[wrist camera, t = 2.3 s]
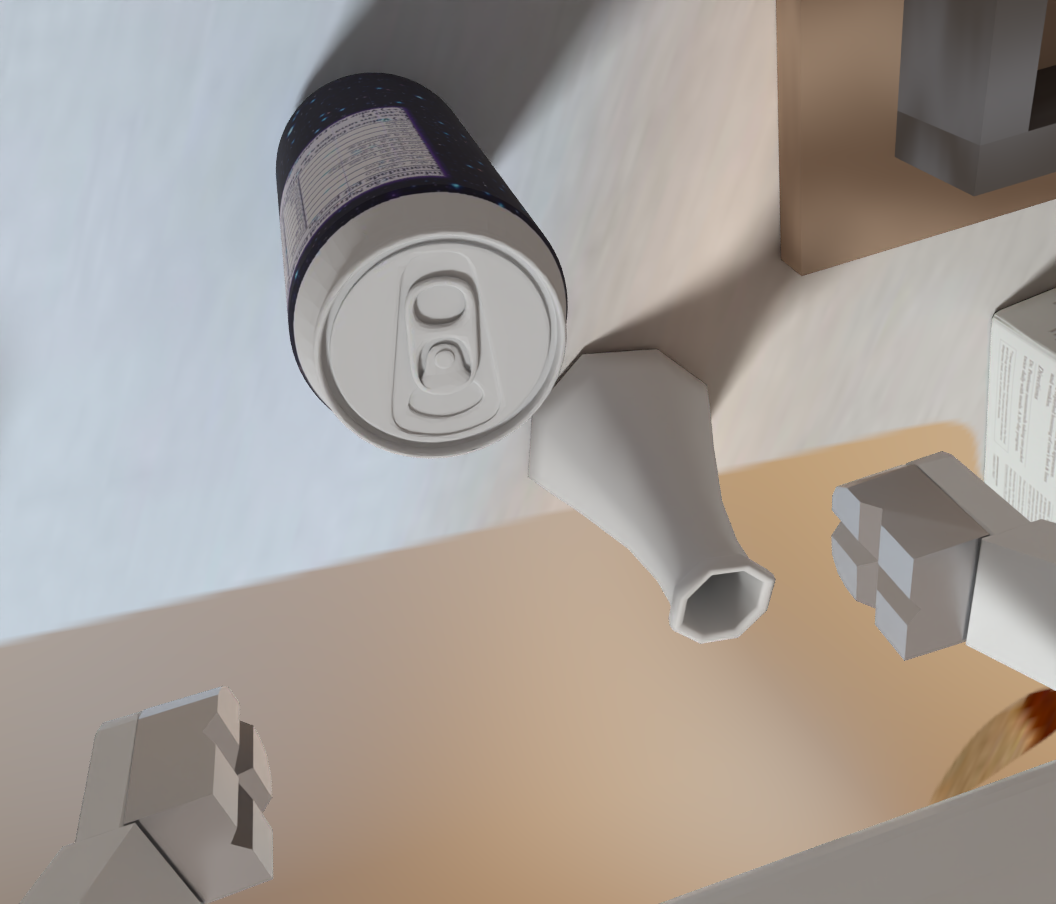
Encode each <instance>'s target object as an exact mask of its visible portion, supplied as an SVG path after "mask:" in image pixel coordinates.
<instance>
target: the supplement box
mask: <svg viewBox="0 0 1056 904" xmlns="http://www.w3.org/2000/svg"><path fill="white" fill-rule="evenodd" d="M984 483H986V484H987V485H988V486H989V487H990V488H991V489H993V490H994V491H995V492H996V493H997V494H998V495H1000V496H1001V497H1002V498H1003V499H1004V500H1006V501H1007V502H1008V503H1009V504H1010V505H1011V506H1013V507H1014V508H1015V509H1016V510H1017V511H1018V512H1020V513H1021V514H1022V515H1023V516H1024V517H1025V518H1027V519H1028V520H1029V521H1030V522H1033V521H1036V520H1040V519H1043V520H1047V521H1050V522H1054V523H1056V288H1054V289H1052V290H1049V291H1047V292H1044V293H1042V294H1039V295H1037V296H1034V297H1032V298H1029V299H1027V300H1024V301H1022V302H1019V303H1017V304H1014V305H1012V306H1009V307H1007V308H1005V309H1002V310H1000V311H998V312H996V313H995V314H994V316H993V318H992V324H991V340H990V365H989V390H988V407H987V430H986V450H985V475H984Z"/></svg>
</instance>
